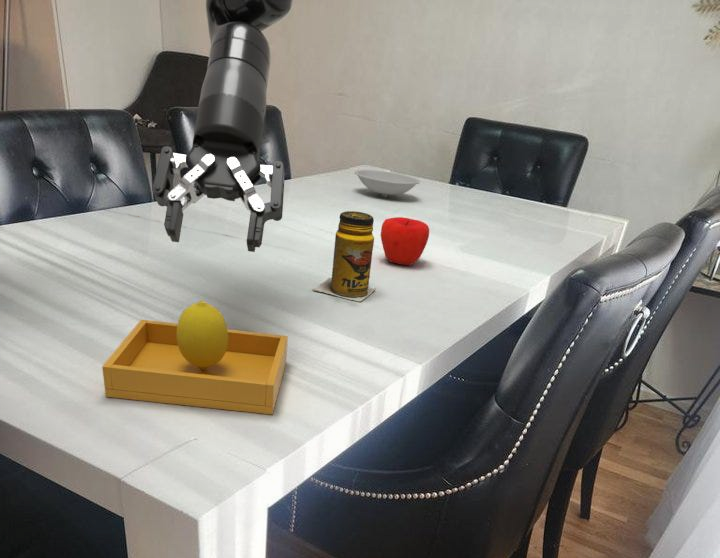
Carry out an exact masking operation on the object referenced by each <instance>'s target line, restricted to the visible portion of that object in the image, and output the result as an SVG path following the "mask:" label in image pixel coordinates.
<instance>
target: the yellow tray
mask: <svg viewBox="0 0 720 558" xmlns="http://www.w3.org/2000/svg"><path fill="white" fill-rule="evenodd" d="M177 326H178V323H175V322H167V321H157V320H149V319H140V320H139V321H138V323H137V324H136V325H135V326H134V327H133V329H131V331H130V332H129V333H128V335H127V336H126V337H125V338H124V339H123V341H122V342H121V343H120V344H119V345H118V347H116V349H115V350H114V352H113V353H112V354H111V355H110V356H109V358H108V359H107V360H106V361H105V363H104V364H102V367H101V369H102V376H103V377H102V378H103V384H104V392H105V397H107V398H115V399H123V400H132V401H140V402H141V401H142V402H152V403H161V404H171V405H179V406H189V407H199V408H207V409H215V410H216V409H217V410H225V411H226V410H227V411H236V412H243V413H244V412H245V413H254V414H262V415H274V410H275V406H276V403H277V399H278V396H279V392H280V389H281V384H282V381H283V376H284V373H285V368H286V365H287V360H288V359H287V355H288V341H289V340H288V339H289V335H283V334H282V335H280V334H271V333H264V332H263V333H262V332H253V331H247V330H246V331H245V330H237V329H228V328H227V331H228V346H227V350H226V353H225V355H224V356H223V358H222V359H221V360H220V361H219V362H218V363H217V364H215V365H213V366H209V367H208V368H207V369H206V370H201V369H200V368H199V367H198V366H195V365H193V364H191V363H189V362H188V361H187V360H186V359H185V358H184V357H183V356H182V354H181V352H180V350H179V347H178V342H177Z"/></svg>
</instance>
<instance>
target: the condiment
mask: <svg viewBox="0 0 720 558" xmlns="http://www.w3.org/2000/svg"><path fill="white" fill-rule="evenodd" d="M374 219H375V218H374V217H373V215H371V214H369V213H367V212H362V211H356V210H355V211H354V210H352V211H351V210H347V211H343V212H341V213H340V214H339V222H338V225H337V230H336V232H335V236H334V247H333V258H332V259H333V260H332V271H331V277H328V278H327V279H325V281H323V282H322V283H320V284H319V285H317V286H315V287H314V288H312V289H311V291H316V292H319V293H324V294H327V295H328V294H329V295H332V296H335V297H338V298H343V299H347V300H350V301H351V300H352V301H355V302H362V301H363V300H365V299H366V298H368V297H369V296H370V295H371V294H372V293H373V292H374V291H375V290H377V288H374V287H369V286H370V278H371V275H370V274H371V269H372V259H373V251H374V244H375V236H374V234H373V231H374V223H375V222H374Z"/></svg>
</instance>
